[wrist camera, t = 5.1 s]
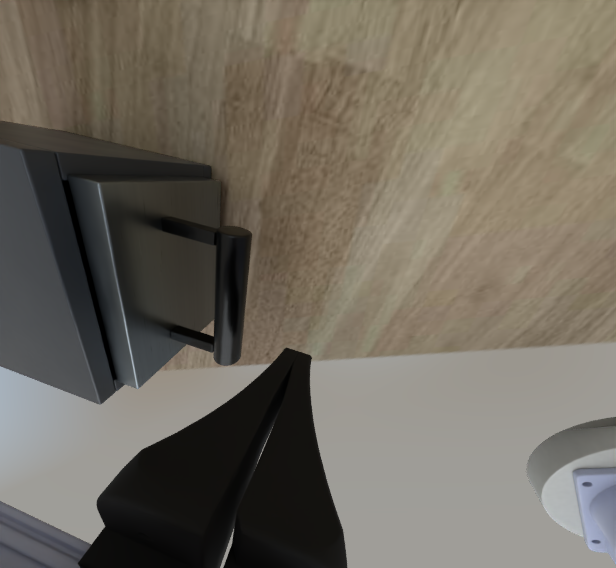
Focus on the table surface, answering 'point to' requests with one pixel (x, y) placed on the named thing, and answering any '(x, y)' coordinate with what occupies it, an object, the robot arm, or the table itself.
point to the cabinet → (57, 255)
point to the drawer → (160, 268)
